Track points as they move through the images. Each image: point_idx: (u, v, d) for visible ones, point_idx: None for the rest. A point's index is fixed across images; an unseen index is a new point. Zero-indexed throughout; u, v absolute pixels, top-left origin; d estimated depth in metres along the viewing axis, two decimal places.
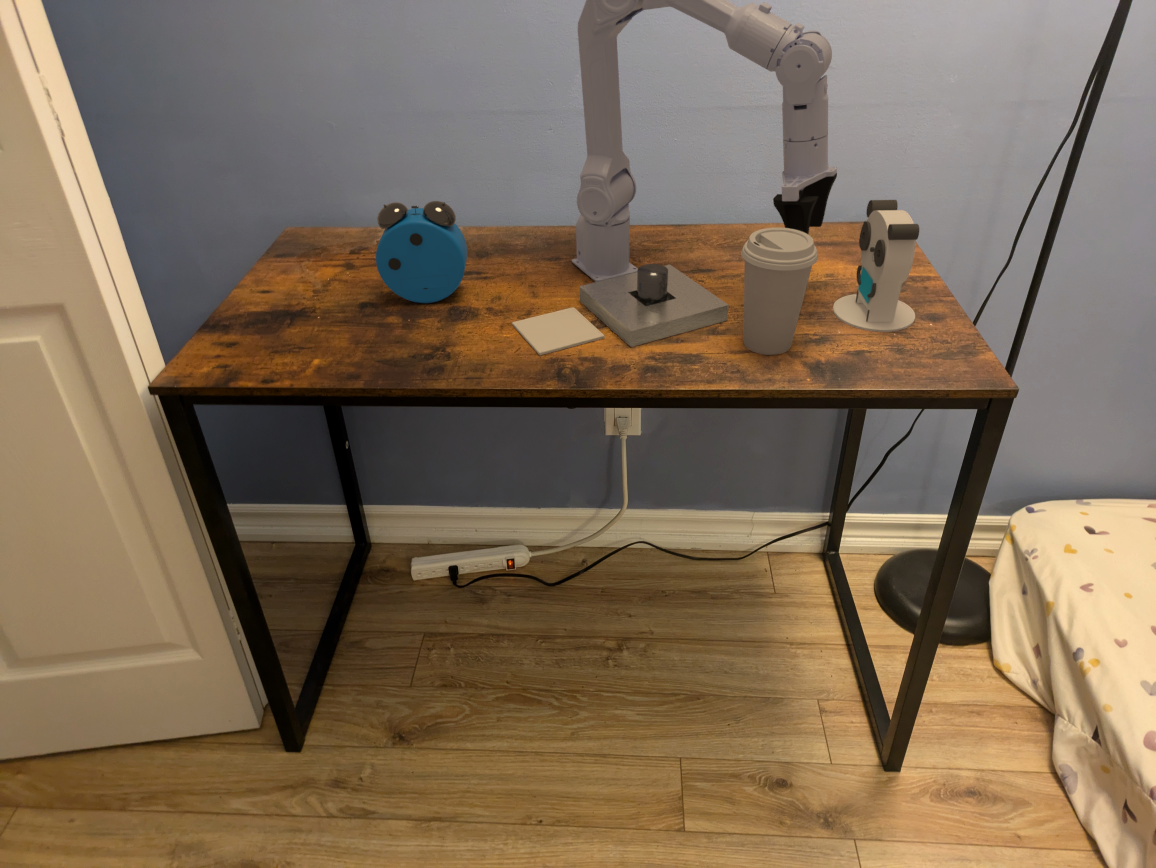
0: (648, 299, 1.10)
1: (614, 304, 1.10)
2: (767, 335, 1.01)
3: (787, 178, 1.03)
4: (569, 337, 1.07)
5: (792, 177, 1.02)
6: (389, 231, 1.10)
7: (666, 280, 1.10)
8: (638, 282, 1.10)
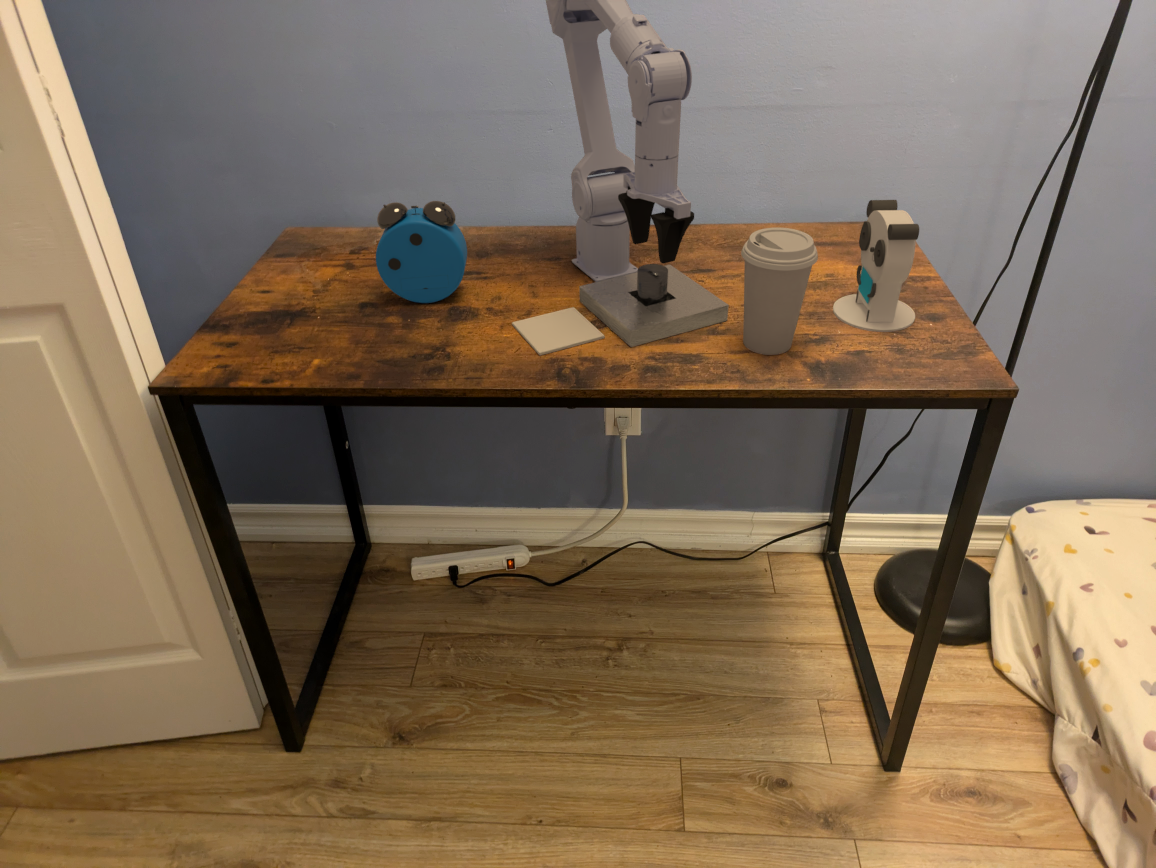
0: (648, 299, 1.10)
1: (614, 304, 1.10)
2: (767, 335, 1.01)
3: None
4: (569, 337, 1.07)
5: None
6: (389, 231, 1.10)
7: (666, 280, 1.10)
8: (638, 282, 1.10)
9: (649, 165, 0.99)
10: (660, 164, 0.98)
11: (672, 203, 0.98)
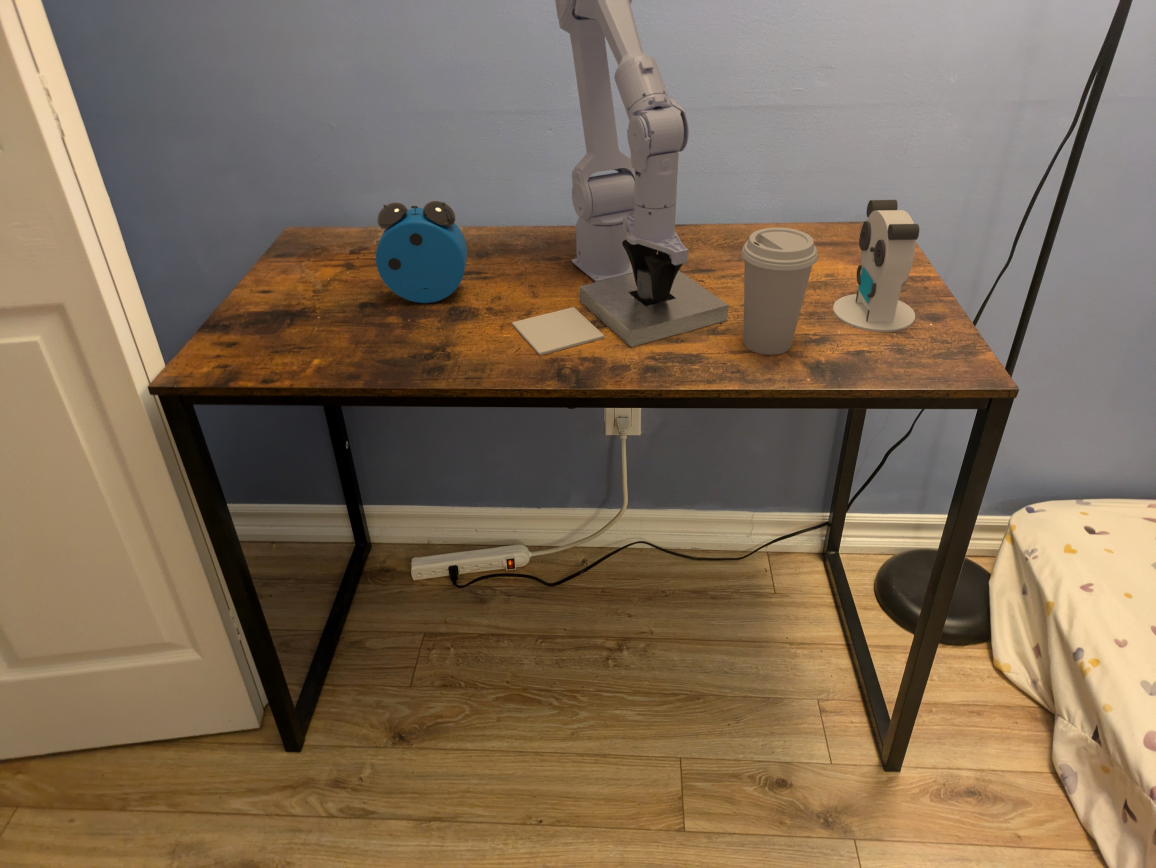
0: (648, 299, 1.10)
1: (614, 304, 1.10)
2: (767, 335, 1.01)
3: None
4: (569, 337, 1.07)
5: None
6: (389, 231, 1.10)
7: None
8: (638, 282, 1.10)
9: (648, 213, 1.02)
10: (658, 212, 1.02)
11: (670, 250, 1.02)
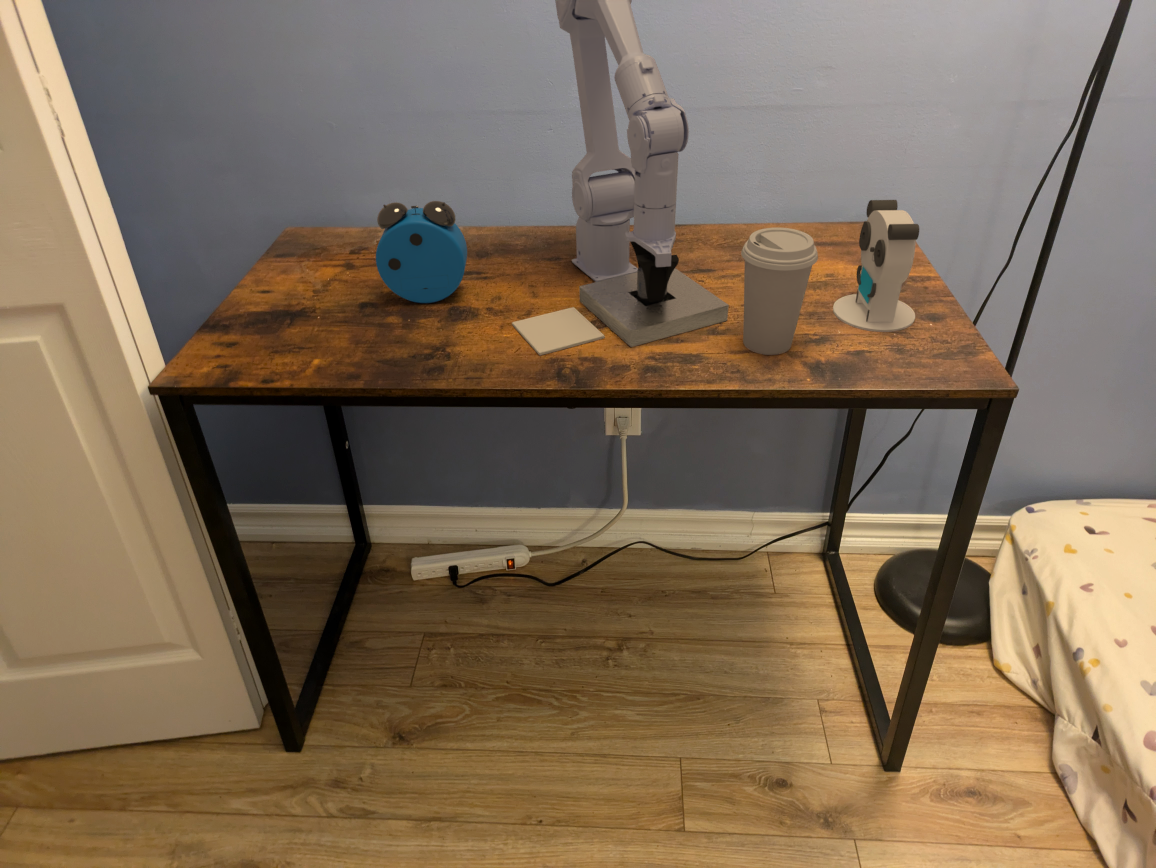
0: (643, 298, 1.11)
1: (614, 304, 1.10)
2: (767, 335, 1.01)
3: None
4: (569, 337, 1.07)
5: None
6: (389, 231, 1.10)
7: None
8: (637, 279, 1.11)
9: (641, 212, 1.03)
10: (651, 212, 1.02)
11: (654, 251, 1.02)
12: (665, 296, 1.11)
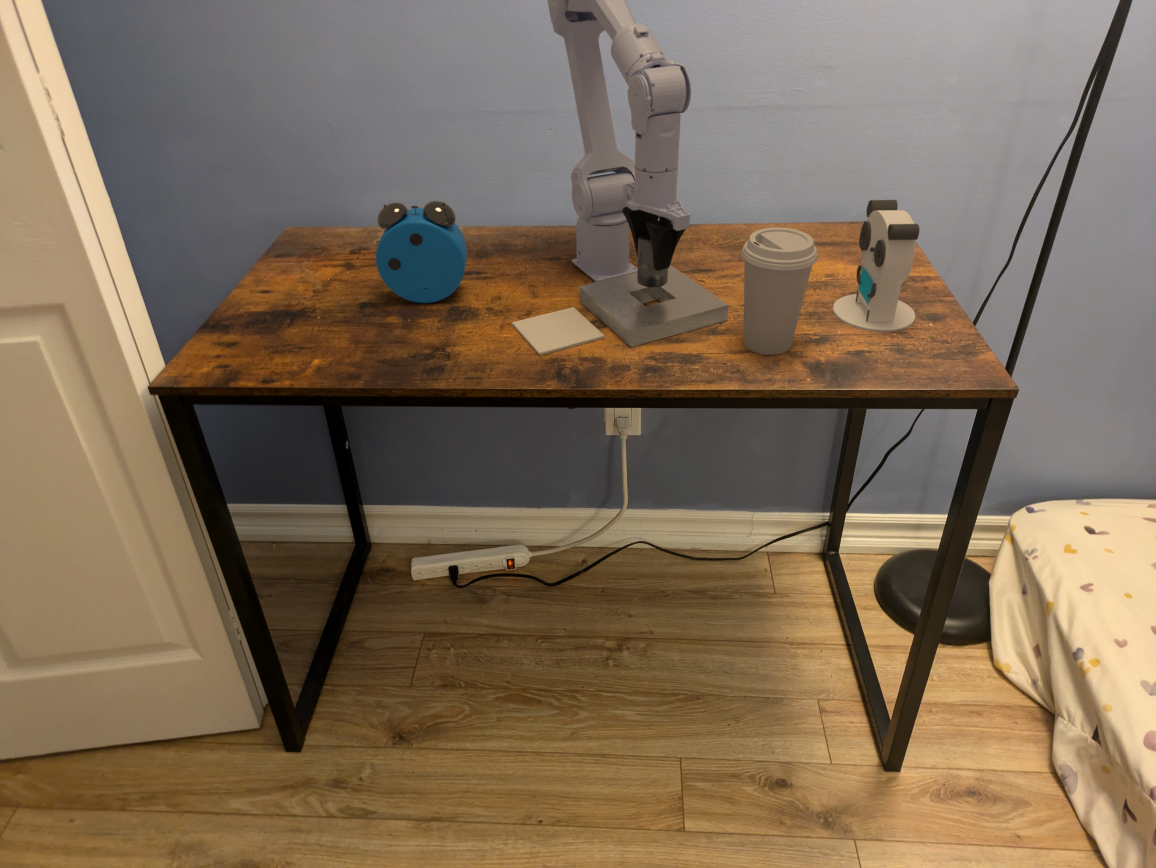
0: (648, 268, 1.08)
1: (614, 304, 1.10)
2: (767, 335, 1.01)
3: None
4: (569, 337, 1.07)
5: None
6: (389, 231, 1.10)
7: None
8: (639, 250, 1.08)
9: (649, 177, 0.99)
10: (660, 176, 0.99)
11: (671, 215, 0.99)
12: None
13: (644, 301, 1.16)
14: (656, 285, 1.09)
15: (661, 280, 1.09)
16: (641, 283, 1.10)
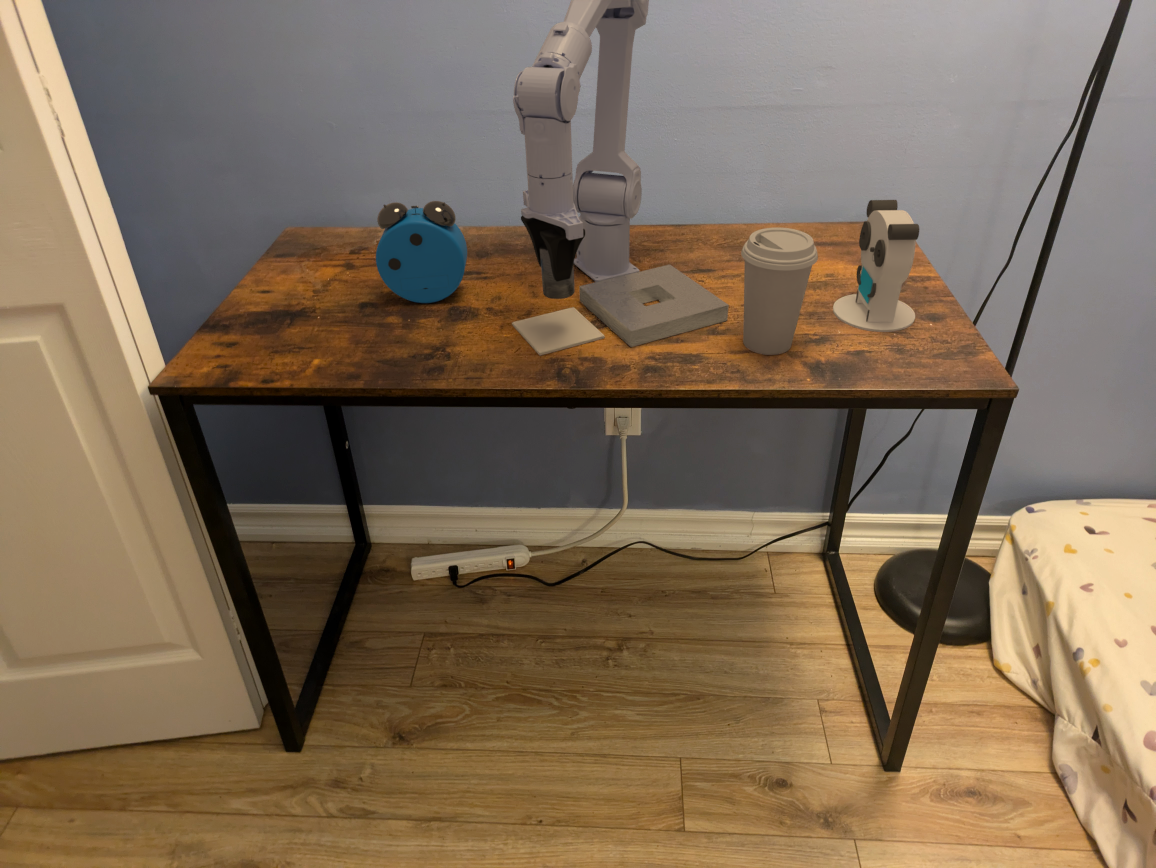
0: (551, 279, 1.03)
1: (614, 304, 1.10)
2: (767, 335, 1.01)
3: None
4: (569, 337, 1.07)
5: None
6: (389, 231, 1.10)
7: None
8: (541, 260, 1.03)
9: (540, 184, 0.94)
10: (551, 183, 0.94)
11: (563, 223, 0.94)
12: (573, 274, 1.04)
13: (644, 301, 1.16)
14: (561, 297, 1.04)
15: (566, 291, 1.04)
16: (546, 294, 1.05)
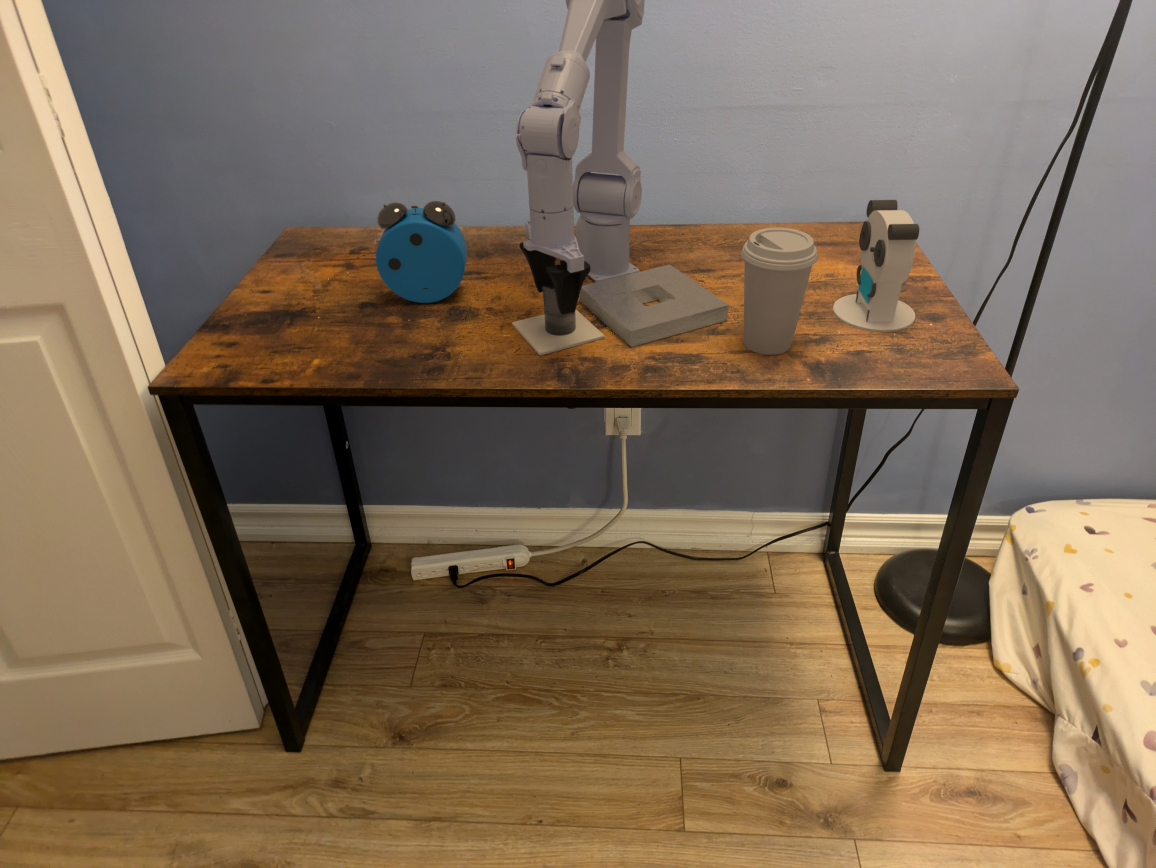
0: (553, 316, 1.06)
1: (614, 304, 1.10)
2: (767, 335, 1.01)
3: None
4: (569, 337, 1.07)
5: None
6: (389, 231, 1.10)
7: None
8: (543, 298, 1.06)
9: (542, 218, 0.97)
10: (553, 217, 0.97)
11: (565, 257, 0.96)
12: None
13: (644, 301, 1.16)
14: (562, 333, 1.07)
15: (567, 328, 1.07)
16: (548, 331, 1.08)
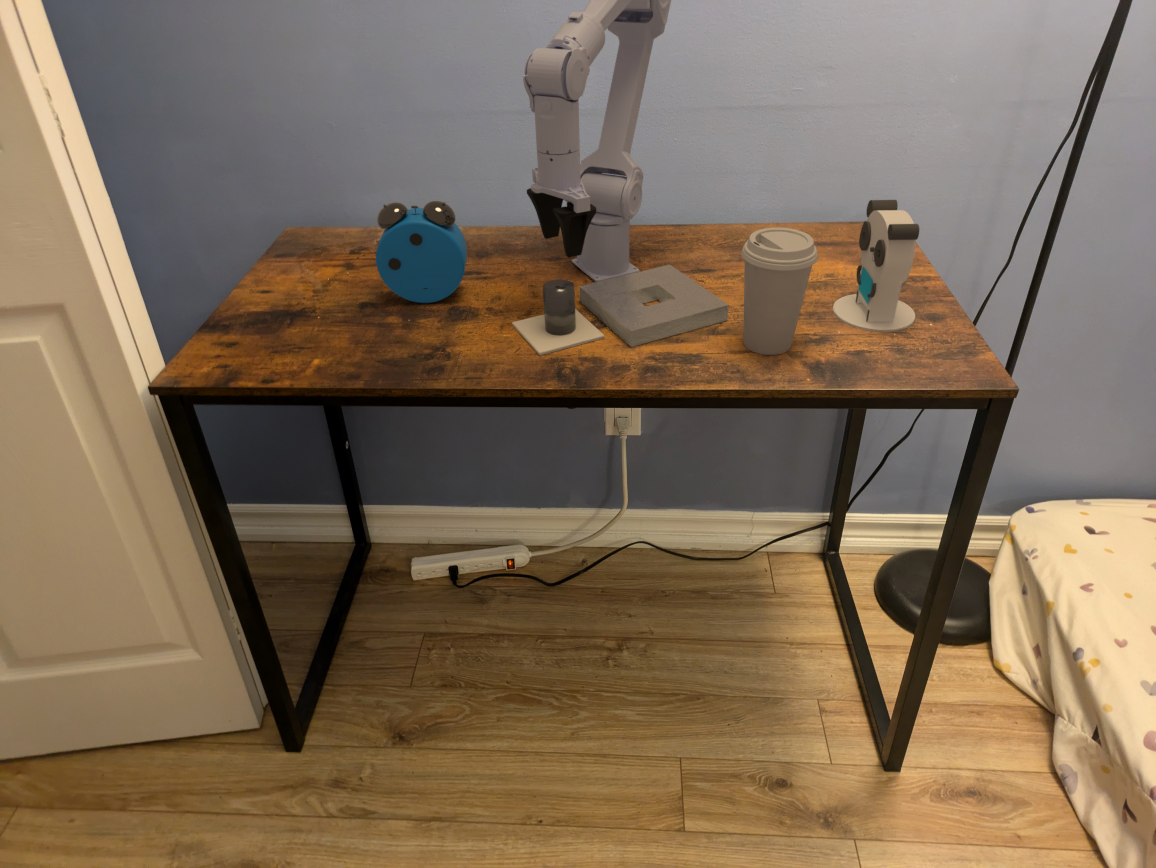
0: (553, 316, 1.06)
1: (614, 304, 1.10)
2: (767, 335, 1.01)
3: None
4: (569, 337, 1.07)
5: None
6: (389, 231, 1.10)
7: (572, 297, 1.05)
8: (543, 298, 1.06)
9: (549, 160, 1.00)
10: (560, 159, 0.99)
11: (571, 197, 0.99)
12: (574, 311, 1.07)
13: (644, 301, 1.16)
14: (562, 333, 1.07)
15: (567, 328, 1.07)
16: (548, 331, 1.08)
